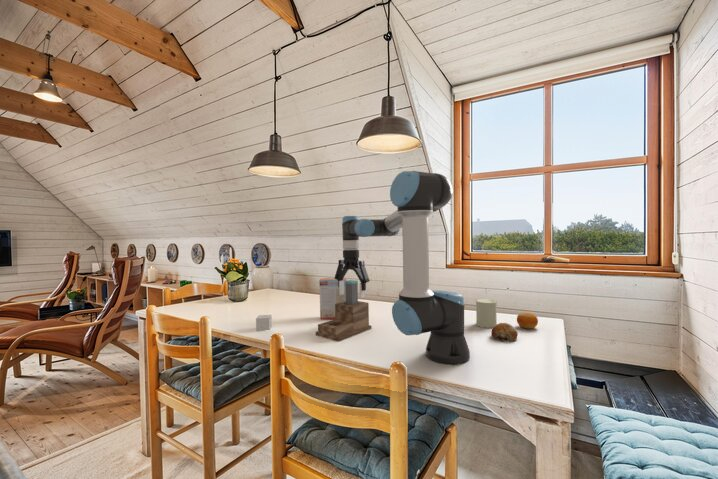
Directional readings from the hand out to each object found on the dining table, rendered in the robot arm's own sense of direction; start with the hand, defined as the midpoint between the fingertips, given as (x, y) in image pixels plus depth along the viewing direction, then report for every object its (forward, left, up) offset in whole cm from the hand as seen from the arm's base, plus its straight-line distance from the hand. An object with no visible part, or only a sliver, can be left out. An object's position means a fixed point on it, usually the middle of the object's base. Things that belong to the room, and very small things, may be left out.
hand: (351, 296), depth 152 cm
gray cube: (+34, +25, -16) cm, 45 cm away
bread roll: (-59, -28, -16) cm, 67 cm away
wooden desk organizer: (0, +6, -15) cm, 16 cm away
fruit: (-63, -49, -16) cm, 82 cm away
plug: (0, 0, -7) cm, 7 cm away
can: (-47, -42, -16) cm, 65 cm away
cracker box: (+21, -9, -16) cm, 28 cm away
